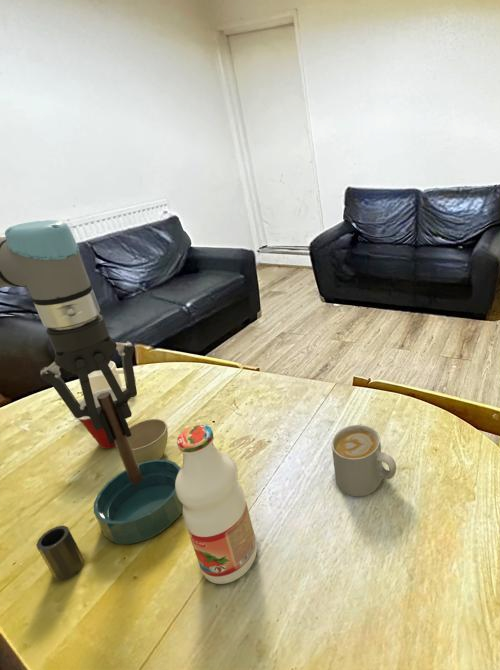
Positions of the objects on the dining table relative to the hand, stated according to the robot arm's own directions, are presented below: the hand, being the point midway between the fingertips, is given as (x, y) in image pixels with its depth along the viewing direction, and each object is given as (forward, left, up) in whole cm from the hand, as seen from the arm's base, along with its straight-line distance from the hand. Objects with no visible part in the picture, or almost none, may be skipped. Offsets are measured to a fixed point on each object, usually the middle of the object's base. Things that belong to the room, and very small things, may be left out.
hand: (119, 436), depth 75 cm
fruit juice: (+21, -9, -19) cm, 30 cm away
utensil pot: (-7, -12, -19) cm, 24 cm away
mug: (-32, +36, -19) cm, 52 cm away
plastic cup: (-21, +19, -19) cm, 34 cm away
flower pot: (-8, +14, -19) cm, 25 cm away
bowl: (0, 0, -19) cm, 19 cm away
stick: (0, 0, -11) cm, 11 cm away
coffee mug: (+43, +9, -19) cm, 48 cm away
